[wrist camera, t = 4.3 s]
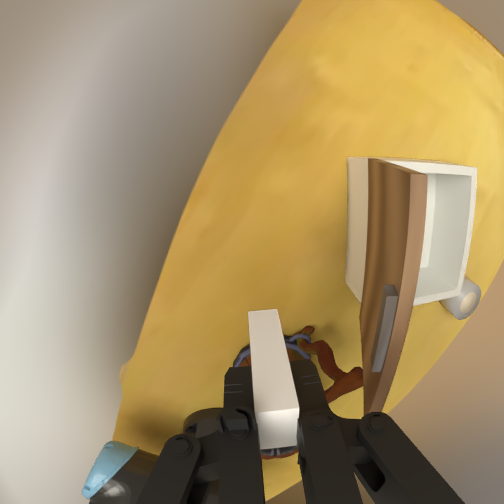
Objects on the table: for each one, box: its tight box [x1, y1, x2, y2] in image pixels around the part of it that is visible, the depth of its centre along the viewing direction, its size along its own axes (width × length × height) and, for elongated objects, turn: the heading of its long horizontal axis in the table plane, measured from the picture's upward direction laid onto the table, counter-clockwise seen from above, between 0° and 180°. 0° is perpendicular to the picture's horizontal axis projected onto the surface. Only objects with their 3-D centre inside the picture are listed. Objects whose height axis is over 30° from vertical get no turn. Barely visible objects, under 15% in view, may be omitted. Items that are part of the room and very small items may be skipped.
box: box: [345, 157, 477, 306], centre depth 30 cm, size 14×16×8 cm
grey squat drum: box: [439, 276, 481, 320], centre depth 35 cm, size 6×6×5 cm
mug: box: [233, 326, 363, 460], centre depth 32 cm, size 18×12×15 cm, turn 142°
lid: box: [359, 158, 428, 416], centre depth 19 cm, size 14×16×1 cm
